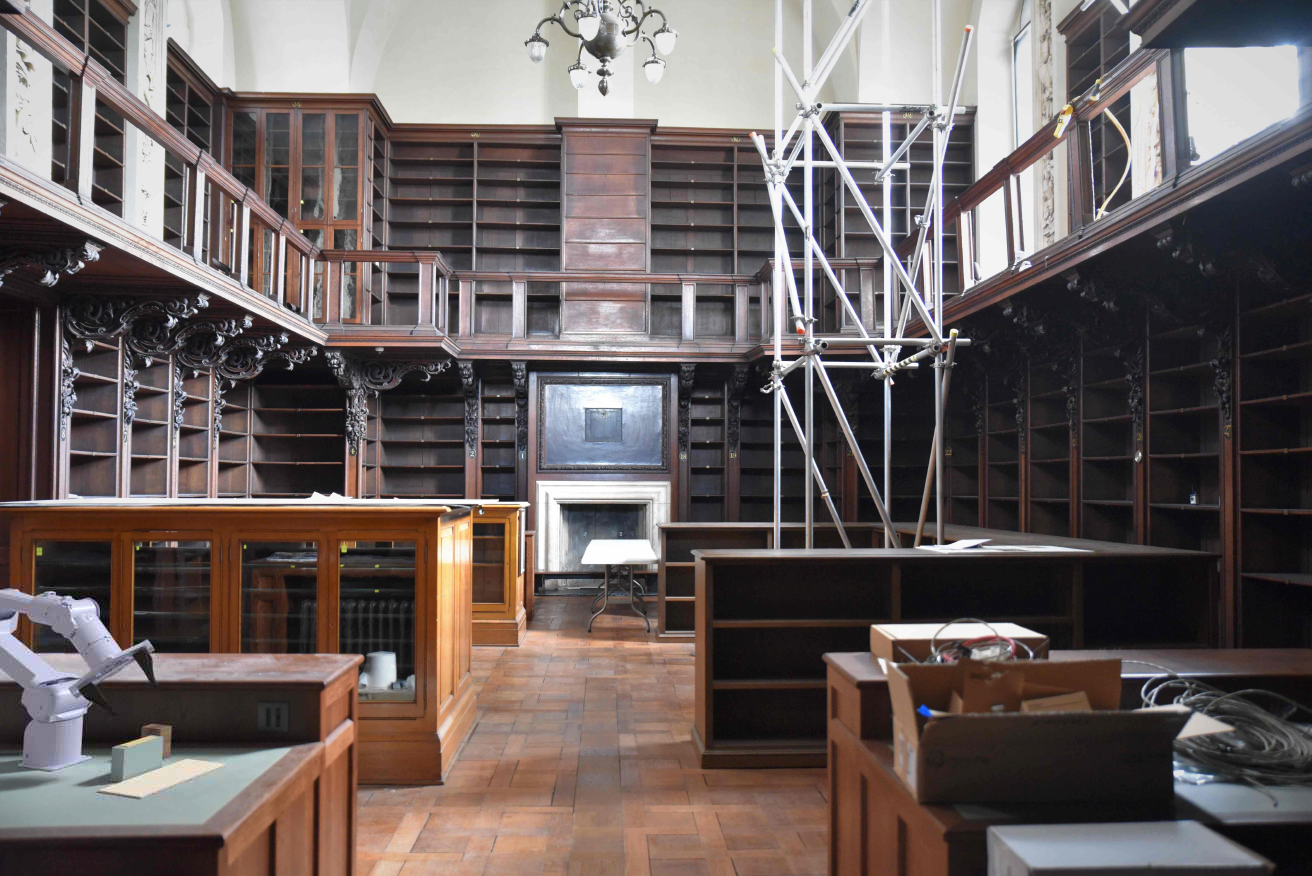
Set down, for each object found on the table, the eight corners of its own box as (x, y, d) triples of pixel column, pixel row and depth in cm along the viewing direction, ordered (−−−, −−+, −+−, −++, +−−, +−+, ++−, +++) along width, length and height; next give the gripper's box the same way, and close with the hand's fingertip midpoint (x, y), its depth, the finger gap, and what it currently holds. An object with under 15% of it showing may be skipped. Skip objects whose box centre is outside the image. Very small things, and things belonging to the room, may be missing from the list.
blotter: (98, 791, 142) (98, 790, 142) (186, 760, 159) (186, 758, 159) (140, 798, 139) (141, 796, 139) (226, 765, 156) (226, 764, 156)
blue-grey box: (110, 780, 147) (112, 746, 148) (149, 767, 155) (151, 734, 156) (122, 782, 147) (124, 748, 147) (161, 768, 154) (163, 735, 155)
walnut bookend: (140, 757, 160) (141, 727, 161) (151, 754, 162) (152, 723, 163) (159, 760, 159) (160, 729, 159) (170, 756, 161) (171, 726, 161)
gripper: (50, 665, 149) (87, 719, 145) (131, 617, 157) (168, 667, 153) (63, 678, 154) (99, 731, 151) (140, 631, 162) (177, 680, 159)
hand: (135, 700), depth 152 cm, fingers open, 7 cm apart
